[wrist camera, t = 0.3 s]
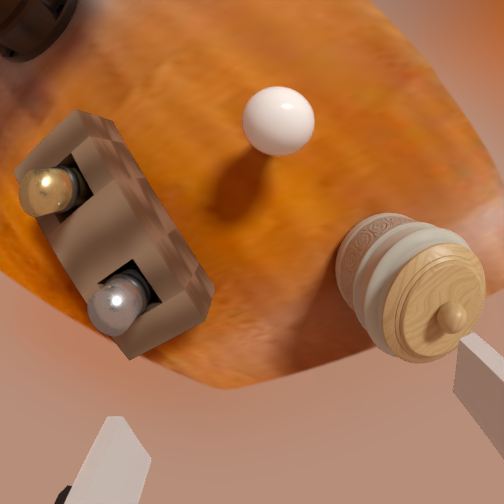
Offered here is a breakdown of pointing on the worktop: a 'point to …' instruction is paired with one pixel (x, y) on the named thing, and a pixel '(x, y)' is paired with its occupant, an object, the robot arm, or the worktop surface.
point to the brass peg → (53, 190)
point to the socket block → (120, 231)
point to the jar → (410, 285)
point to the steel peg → (120, 301)
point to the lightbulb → (278, 121)
